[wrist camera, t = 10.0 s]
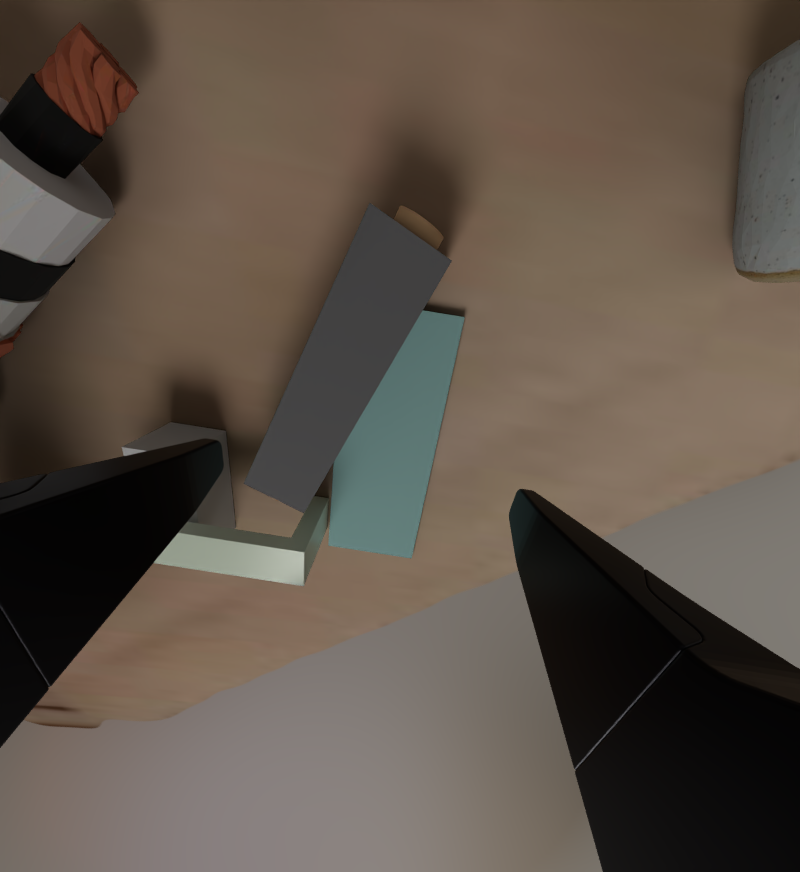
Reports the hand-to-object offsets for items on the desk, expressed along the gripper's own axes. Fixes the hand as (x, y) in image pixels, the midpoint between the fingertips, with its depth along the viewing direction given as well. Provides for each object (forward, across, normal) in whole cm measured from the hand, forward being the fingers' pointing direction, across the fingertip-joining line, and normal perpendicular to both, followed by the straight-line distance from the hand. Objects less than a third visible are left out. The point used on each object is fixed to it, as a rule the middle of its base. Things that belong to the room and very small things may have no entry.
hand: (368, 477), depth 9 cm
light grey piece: (+12, +11, +12) cm, 20 cm away
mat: (+12, 0, +5) cm, 13 cm away
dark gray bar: (+11, +3, 0) cm, 12 cm away
